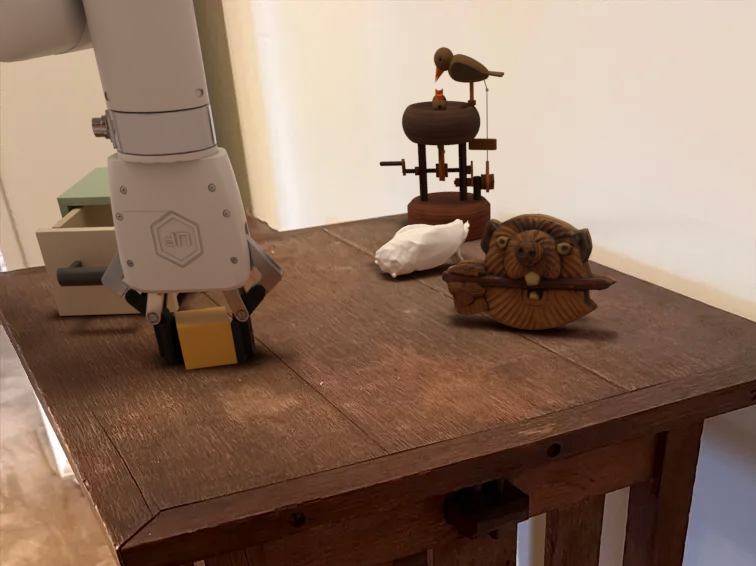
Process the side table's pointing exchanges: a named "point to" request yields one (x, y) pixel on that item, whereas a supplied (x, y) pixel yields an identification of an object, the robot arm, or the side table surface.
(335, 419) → the side table surface
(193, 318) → the block
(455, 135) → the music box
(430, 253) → the white lumpy oblong piece
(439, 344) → the side table surface
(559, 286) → the wooden carving
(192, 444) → the side table surface
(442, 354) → the side table surface
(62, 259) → the drawer
